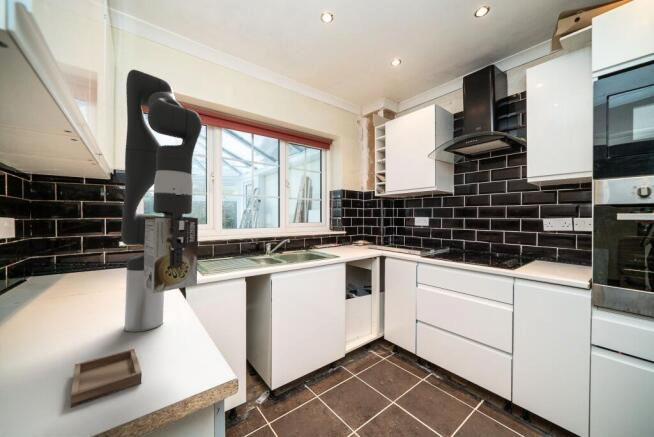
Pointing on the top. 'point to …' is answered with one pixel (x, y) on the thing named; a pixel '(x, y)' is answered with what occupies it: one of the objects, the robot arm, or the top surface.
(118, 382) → the shallow square tray
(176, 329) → the top surface
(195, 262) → the coffee box
